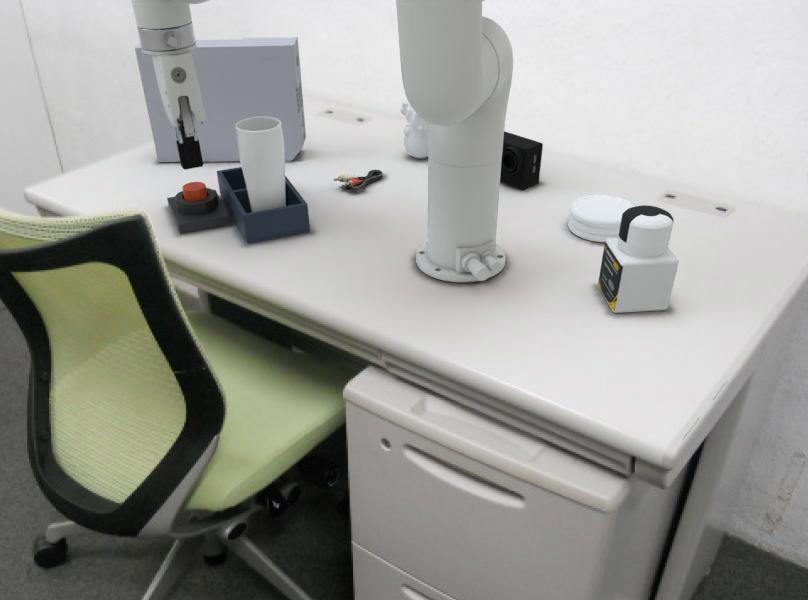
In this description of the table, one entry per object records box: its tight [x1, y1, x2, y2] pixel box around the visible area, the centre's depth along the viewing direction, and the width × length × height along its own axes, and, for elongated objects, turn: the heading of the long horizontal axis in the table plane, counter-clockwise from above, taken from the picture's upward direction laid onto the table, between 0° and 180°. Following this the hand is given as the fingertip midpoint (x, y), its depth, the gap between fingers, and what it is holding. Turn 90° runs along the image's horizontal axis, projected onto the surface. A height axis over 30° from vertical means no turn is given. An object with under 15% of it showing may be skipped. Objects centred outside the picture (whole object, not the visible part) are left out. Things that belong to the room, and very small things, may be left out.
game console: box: [134, 36, 307, 163], centre depth 139 cm, size 6×27×20 cm, turn 88°
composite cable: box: [333, 169, 383, 193], centre depth 132 cm, size 10×5×2 cm, turn 130°
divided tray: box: [216, 166, 311, 245], centre depth 123 cm, size 19×10×5 cm, turn 21°
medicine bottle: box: [597, 204, 679, 314], centre depth 98 cm, size 7×7×12 cm
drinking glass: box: [235, 116, 286, 212], centre depth 116 cm, size 7×7×15 cm
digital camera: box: [500, 130, 544, 191], centre depth 131 cm, size 10×5×7 cm, turn 42°
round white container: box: [567, 194, 636, 243], centre depth 116 cm, size 10×10×4 cm
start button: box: [181, 181, 207, 201], centre depth 122 cm, size 4×4×2 cm
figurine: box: [399, 99, 430, 159], centre depth 139 cm, size 7×7×12 cm
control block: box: [166, 187, 232, 235], centre depth 124 cm, size 11×8×4 cm
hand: (192, 166), depth 120 cm, fingers closed
